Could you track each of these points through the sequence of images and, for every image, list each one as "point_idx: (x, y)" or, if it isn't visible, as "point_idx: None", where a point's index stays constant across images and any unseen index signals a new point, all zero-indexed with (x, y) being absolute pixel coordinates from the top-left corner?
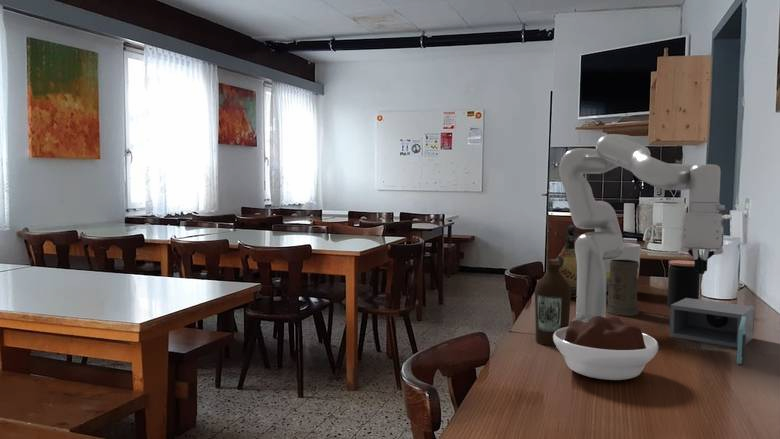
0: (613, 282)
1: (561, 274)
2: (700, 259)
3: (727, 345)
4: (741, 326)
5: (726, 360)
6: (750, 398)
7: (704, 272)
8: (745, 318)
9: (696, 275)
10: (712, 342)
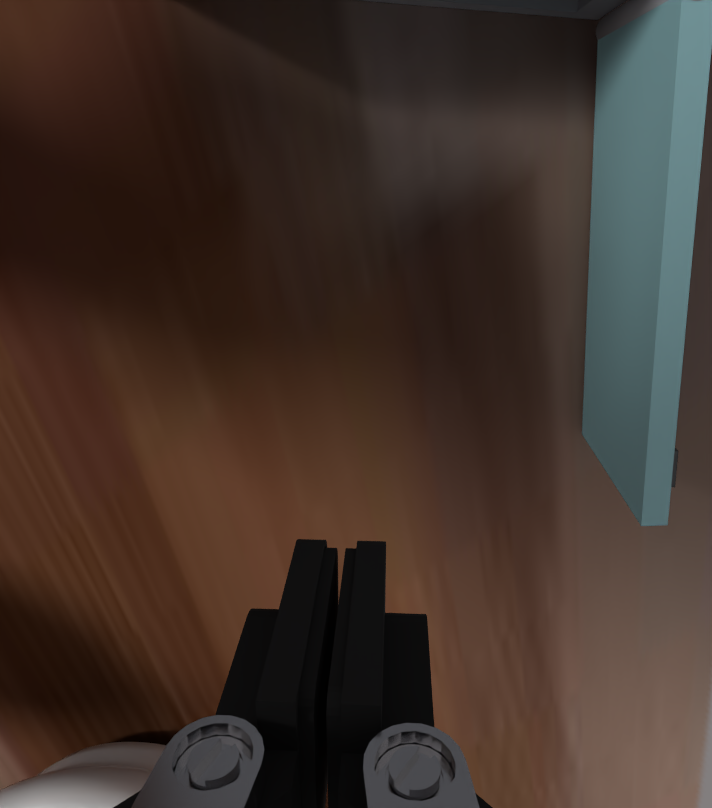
0: None
1: None
2: (295, 736)
3: (515, 11)
4: (663, 422)
5: (530, 375)
6: (629, 804)
7: (385, 548)
8: (709, 69)
9: None
10: (420, 3)
